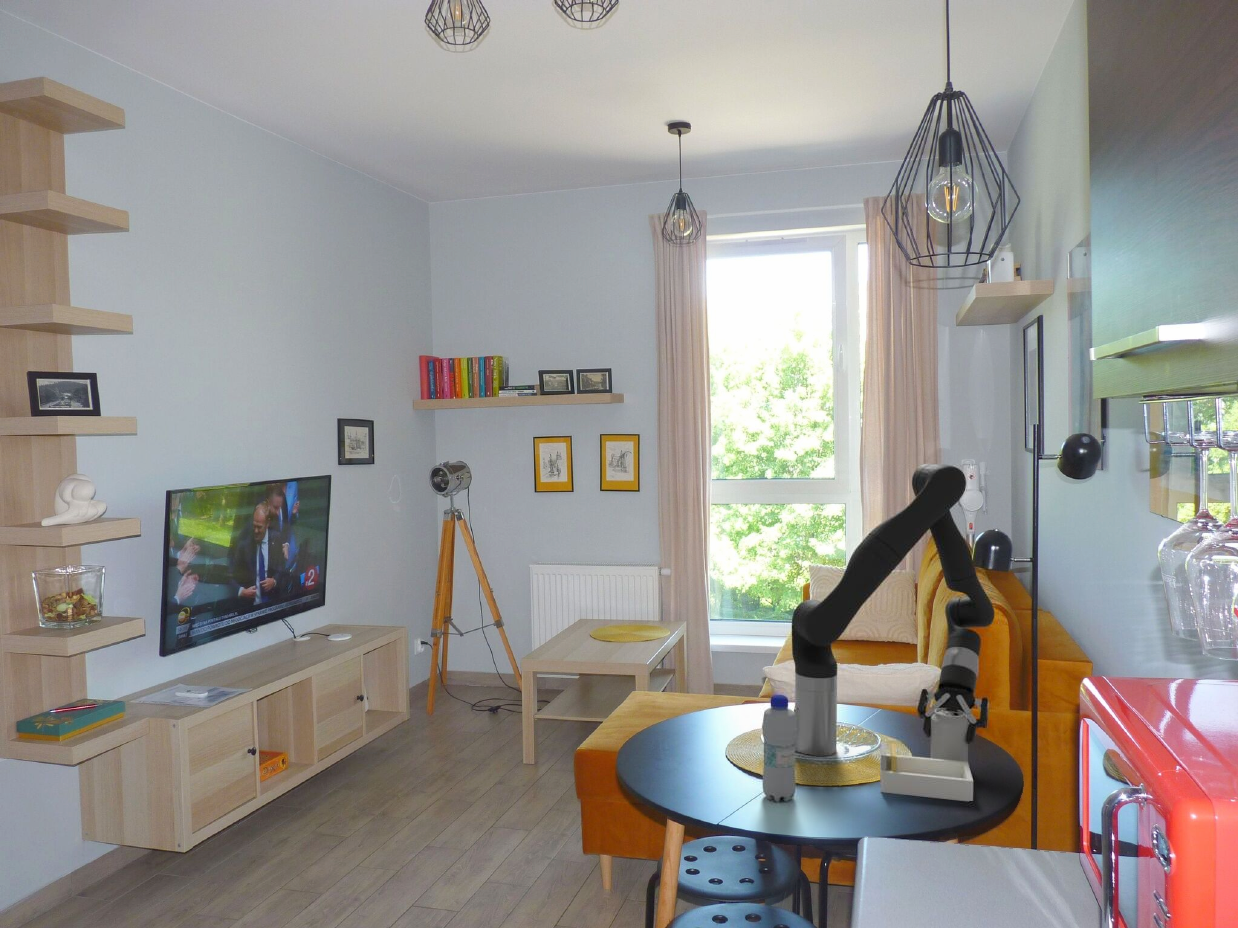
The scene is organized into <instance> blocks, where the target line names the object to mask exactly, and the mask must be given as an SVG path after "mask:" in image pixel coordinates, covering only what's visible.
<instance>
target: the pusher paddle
mask: <svg viewBox="0 0 1238 928" xmlns="http://www.w3.org/2000/svg"><path fill="white" fill-rule="evenodd" d="M890 754H891V771H894V772H897V755H898V751H897V743H890Z"/></svg>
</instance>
